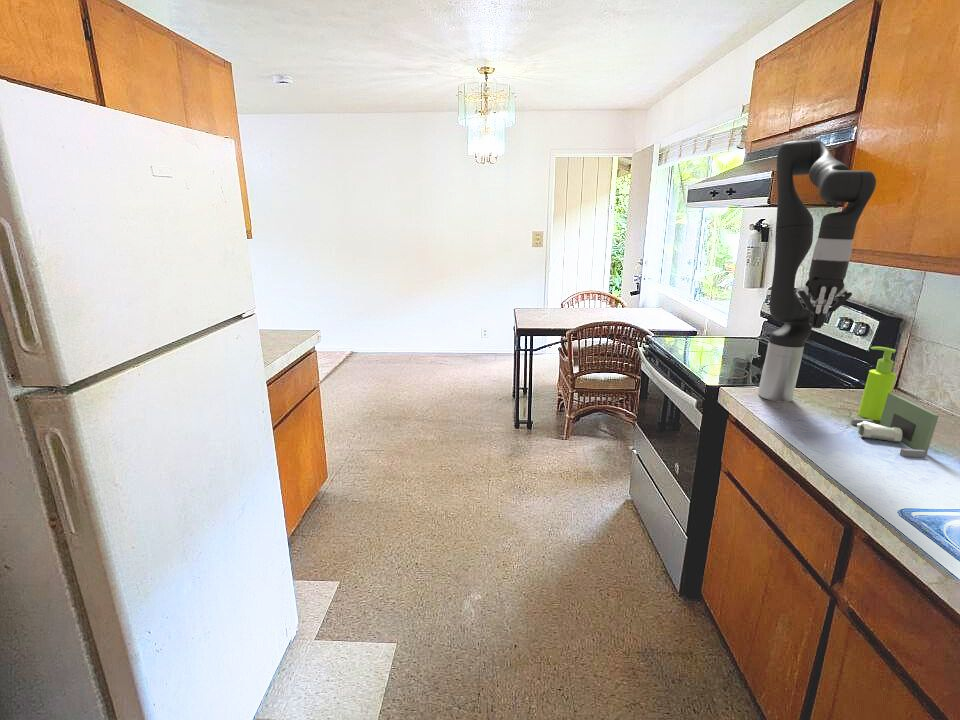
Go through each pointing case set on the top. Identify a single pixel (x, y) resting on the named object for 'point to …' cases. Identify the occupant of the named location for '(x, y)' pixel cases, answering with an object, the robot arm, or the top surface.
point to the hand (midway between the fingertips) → (815, 327)
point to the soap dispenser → (878, 386)
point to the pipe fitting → (879, 432)
